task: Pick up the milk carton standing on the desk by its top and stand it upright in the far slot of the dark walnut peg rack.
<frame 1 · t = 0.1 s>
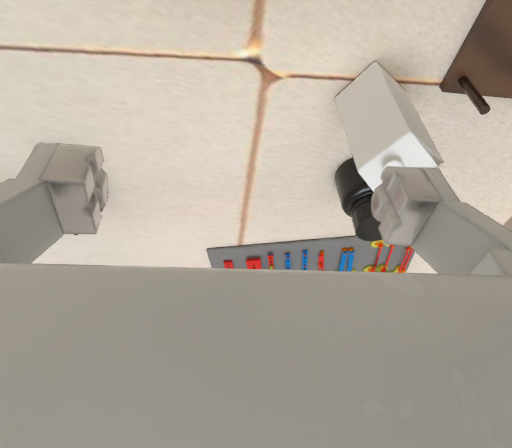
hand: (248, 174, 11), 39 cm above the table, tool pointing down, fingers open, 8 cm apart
ink bottle: (360, 172, 66), on the table
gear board: (311, 263, 87), on the table
milk carton: (369, 93, 54), on the table
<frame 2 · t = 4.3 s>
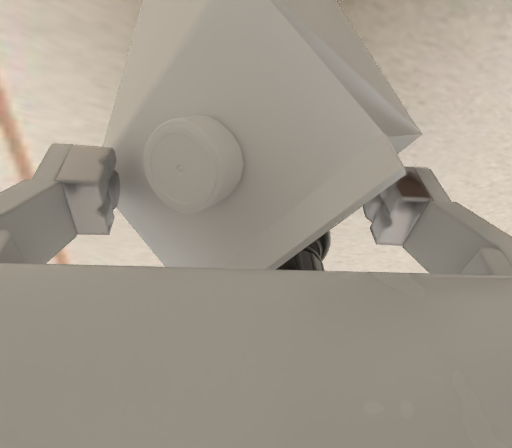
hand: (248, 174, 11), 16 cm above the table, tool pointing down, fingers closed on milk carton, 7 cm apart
ink bottle: (264, 188, 33), on the table
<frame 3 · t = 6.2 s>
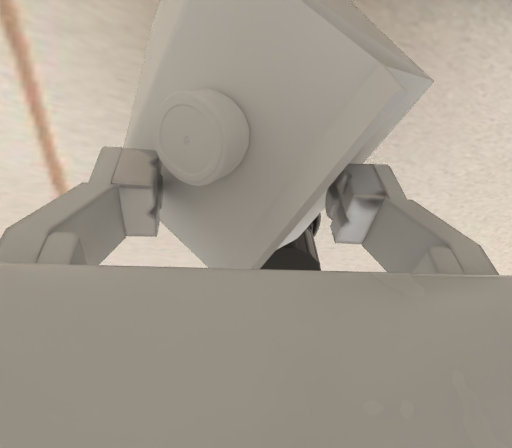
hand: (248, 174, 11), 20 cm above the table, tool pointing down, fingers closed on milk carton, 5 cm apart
ink bottle: (262, 175, 37), on the table
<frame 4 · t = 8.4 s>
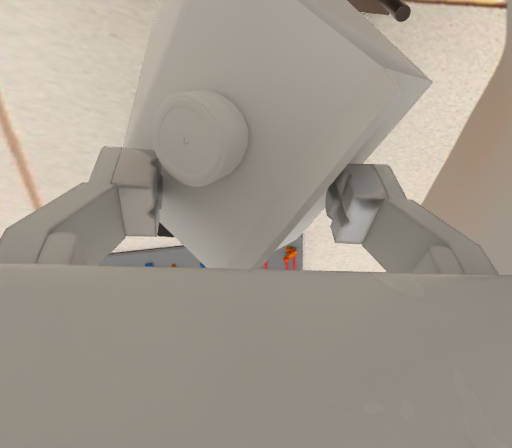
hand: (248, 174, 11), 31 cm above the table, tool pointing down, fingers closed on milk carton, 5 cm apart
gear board: (172, 283, 66), on the table
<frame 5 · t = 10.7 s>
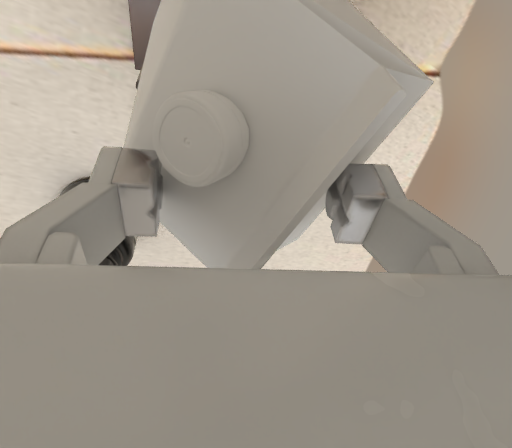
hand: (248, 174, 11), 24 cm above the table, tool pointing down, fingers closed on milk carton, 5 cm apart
ink bottle: (102, 206, 44), on the table
when the fingers open (18 cm above the table, at t = 12.7 s): milk carton stays where it is, resting on peg rack.
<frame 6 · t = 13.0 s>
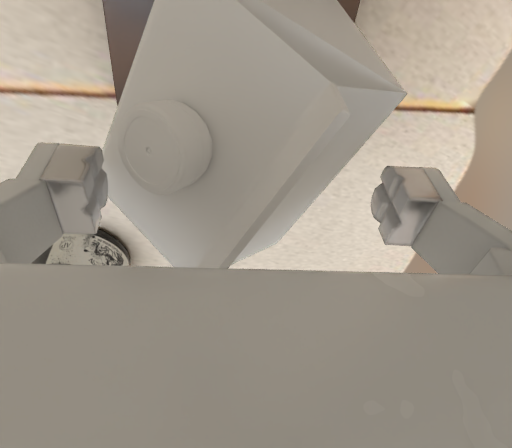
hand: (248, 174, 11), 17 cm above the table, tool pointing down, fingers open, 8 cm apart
ink bottle: (85, 251, 39), on the table
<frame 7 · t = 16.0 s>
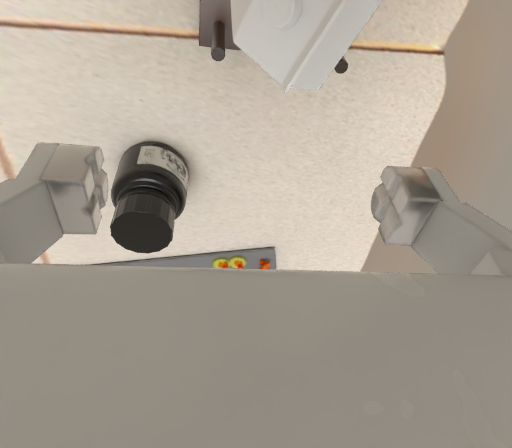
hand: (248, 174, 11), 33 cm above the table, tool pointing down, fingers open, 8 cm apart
ink bottle: (155, 168, 51), on the table
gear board: (155, 292, 71), on the table
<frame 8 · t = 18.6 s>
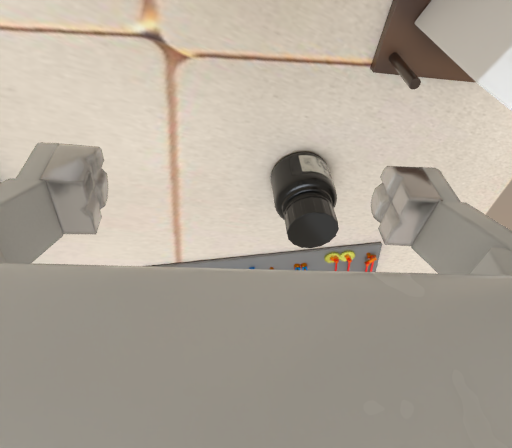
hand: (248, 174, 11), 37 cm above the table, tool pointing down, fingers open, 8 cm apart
ink bottle: (299, 173, 59), on the table
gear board: (264, 283, 78), on the table
milk carton: (458, 8, 42), point 1 cm above the table, touching peg rack
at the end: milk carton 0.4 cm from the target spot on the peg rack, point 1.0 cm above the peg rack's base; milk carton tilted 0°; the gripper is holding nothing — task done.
